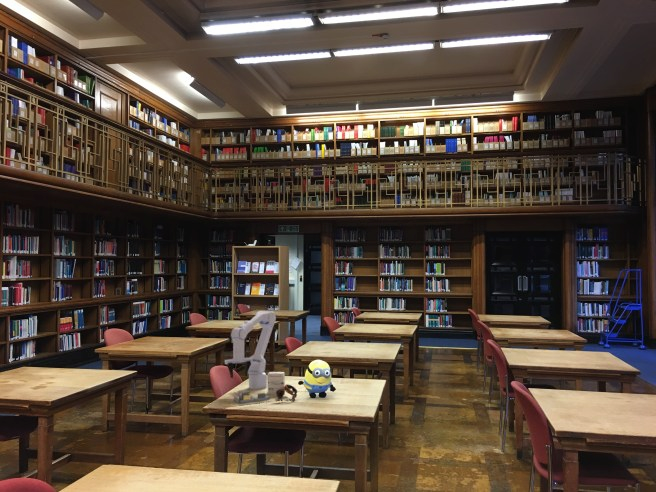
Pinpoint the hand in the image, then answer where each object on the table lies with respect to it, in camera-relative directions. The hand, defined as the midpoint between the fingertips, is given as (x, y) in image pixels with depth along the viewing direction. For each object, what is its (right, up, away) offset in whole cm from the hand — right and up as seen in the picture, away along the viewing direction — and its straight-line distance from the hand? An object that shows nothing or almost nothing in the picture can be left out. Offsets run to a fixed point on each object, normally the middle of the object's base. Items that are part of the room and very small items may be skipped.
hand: (238, 376), depth 264 cm
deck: (0, -10, -2) cm, 10 cm away
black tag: (+14, -7, -14) cm, 20 cm away
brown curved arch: (+25, -10, -8) cm, 28 cm away
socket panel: (+9, -9, -12) cm, 18 cm away
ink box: (+20, -10, +1) cm, 22 cm away
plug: (+5, -10, -13) cm, 17 cm away
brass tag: (+7, -7, -17) cm, 20 cm away
